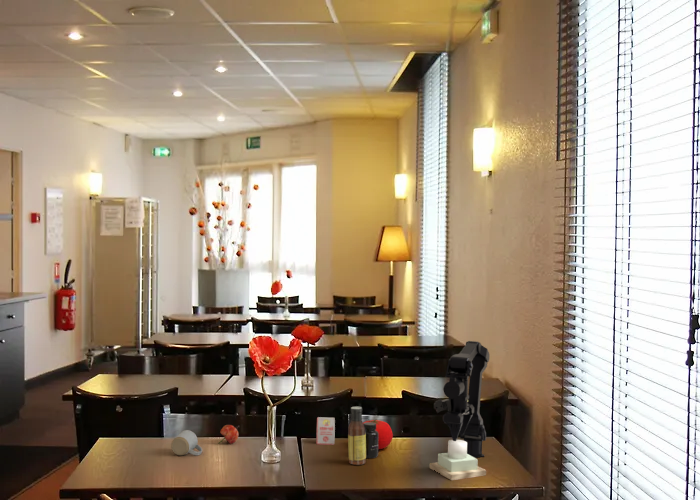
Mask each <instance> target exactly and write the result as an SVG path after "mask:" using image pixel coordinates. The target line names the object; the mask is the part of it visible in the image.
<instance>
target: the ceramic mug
mask: <svg viewBox="0 0 700 500" xmlns="http://www.w3.org/2000/svg"><path fill="white" fill-rule="evenodd" d="M198 443H199V442H198V437H197V435H196V433H195V432H193V431H191V430H190V429H184V430H182V431H181V432H180V433H179V434H178V435H176V436H175V437H174V438H173V439H172V441H171V444H170V445H171V447H170V448H171V450H172V452H173V453H174V454H175V455H177V456H185V455H187V454H188V453H189V454H190V455H193V456H200V455H201V454H202V452H203V447H202V446H200V445H199V444H198ZM195 449H196V451H195ZM197 450H198V451H197Z"/></svg>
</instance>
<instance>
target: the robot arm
mask: <svg viewBox="0 0 700 500" xmlns="http://www.w3.org/2000/svg"><path fill="white" fill-rule="evenodd" d="M447 362H448V363H447V366H446V372H445V378H448V379H449V381H447V382H445V384H444V386H443V389H442V390H443V394H444V395H445V396H446V397H447V398H446V399H443V400H442V399H438V400H436V401H434V403H433V410H435V411H436V413H441V412H443V411H447V412H445V413H444V414H443V415H442V422H444V424H446V425H447V426H448V427H449V431H450V436H451V440H453V441H456V440H458V438H459V437H460V438H459V440H463V441H466V442H467V454H469V455H471V456H472V457H474V458H476V459H477V458H480V457H481V458H482V457H485V454H483V442H484V441H485V442H486V441H487V432H486V428H485V425H484V419H483V418H482V415H481V414H480V407H481V395H482V384H483V383H482V381H483V373H484V372H485V370H486V369H487V368H488V363H489V362H490V352H489V350H488V347H486V346H484V345H482V343H481V342H479V341H476V340H468V341H466V342H465V345H464V347H463V348H462V349H461V351H460V352H459V353H455V354H453V355H452V356H450V358H449V359H448V361H447Z"/></svg>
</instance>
